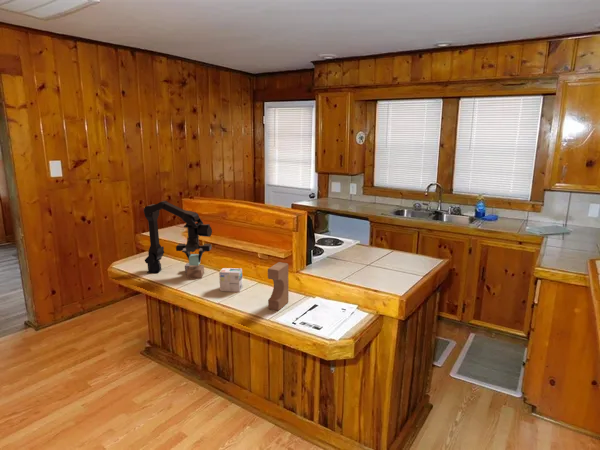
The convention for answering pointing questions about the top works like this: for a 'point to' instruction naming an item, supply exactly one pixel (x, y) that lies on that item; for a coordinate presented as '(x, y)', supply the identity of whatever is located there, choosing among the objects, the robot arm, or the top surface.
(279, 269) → the decorative block
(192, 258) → the teal cube
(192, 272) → the walnut block
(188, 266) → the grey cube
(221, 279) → the light bulb box
